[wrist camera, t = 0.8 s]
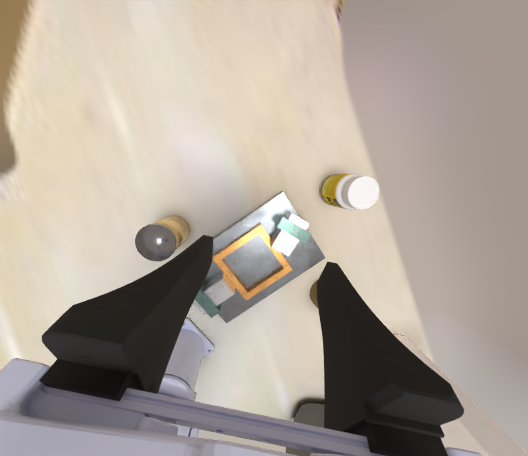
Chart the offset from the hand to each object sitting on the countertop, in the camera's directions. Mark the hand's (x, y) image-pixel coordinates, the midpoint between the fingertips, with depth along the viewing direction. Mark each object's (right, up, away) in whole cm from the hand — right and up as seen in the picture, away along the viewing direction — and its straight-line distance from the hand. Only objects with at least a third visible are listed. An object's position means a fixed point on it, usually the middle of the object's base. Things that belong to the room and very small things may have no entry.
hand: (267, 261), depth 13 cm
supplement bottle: (+11, +8, +20) cm, 24 cm away
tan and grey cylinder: (-14, +2, +18) cm, 23 cm away
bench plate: (-2, -3, +21) cm, 21 cm away
